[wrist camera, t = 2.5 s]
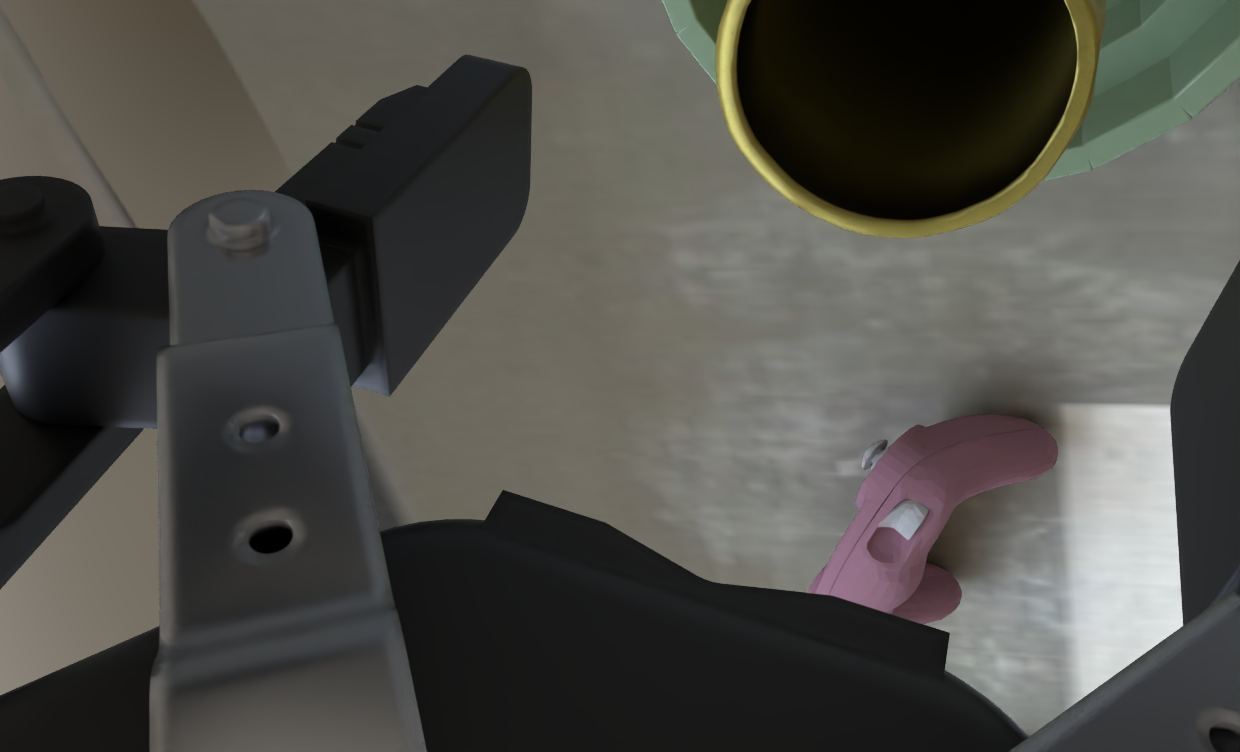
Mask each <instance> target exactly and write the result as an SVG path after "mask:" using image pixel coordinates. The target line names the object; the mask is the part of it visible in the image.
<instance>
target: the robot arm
mask: <svg viewBox="0 0 1240 752" xmlns="http://www.w3.org/2000/svg"><path fill="white" fill-rule="evenodd" d="M531 115H532V84H531V78H530V75H529V72H528V71H527V69H525V68H523V67H519V66H514V65H510V64H506V63H501V62H497V61H493V60H489V59H484V58H480V57H476V56H472V55H464V56H462V57H460V58H459V59H458V60H457V61H456V62H455V63H454V64H453V65H451V66H450V67H449V68H448V69H447V70H446V71H445V72H444V73H443V74H442V75H441V76H440V77H438V78H437V79H436V80H435V81H434V82H433V83H432V84H431V85H430V86H429V87H428V88H427V87H423V86H419V85H416V86H413V87H411V88H408V89H406V90H403V91H401V92H398V93H396V94H393V95H391V96H388V97H386V98H383V99H381V100H379V101H378V102H377V103H376V104H375V105H374V106H372V107H371V108H370V109H369V110H368V111H367V112H366V113H364V114H363V115H362V116H361V117H360V118H359V119H358V120H356V125H355V126H353V125H351V126H350V127H348V128H347V129H346V130H345V131H344V132H343V133H342V134H340V135H339V136H338V137H337V138H336V143H332V142H331V143H330V144H329V145H328V146H327V147H326V148H324V149H323V150H322V151H321V152H320V153H319V154H318V155H316V156H315V157H314V158H313V159H312V160H311V161H310V162H308V163H307V164H306V165H305V166H304V167H303V168H302V169H300V170H299V171H298V172H297V173H296V174H295V175H294V176H292V177H291V178H290V179H289V180H288V181H287V182H286V183H285V184H283V185H282V186H281V187H280V188H279V189H278V190H276V191H275V192H270V191H261V190H244V191H243V190H242V191H234V192H226V193H222V194H218V195H214V196H211V197H208V198H205V199H202V200H200V201H198V202H196V203H194V204H192V205H190V206H189V207H187V208H186V209H184V210H183V211H182V212H181V213H179V214H178V215H177V216H176V218H175V219H174V220H173V221H172V222H171V225H170V227H169V229H168V230H160V229H141V228H122V227H104V226H99V224H98V220H97V217H96V214H95V210H94V207H93V204H92V201H91V198H90V195H89V194H88V193H87V192H86V190H84V189H83V188H82V187H80V186H79V185H77V184H75V183H73V182H71V181H67V180H64V179H60V178H54V177H46V176H24V177H14V178H8V179H3V180H0V373H1V376H2V378H3V381H4V383H5V385H4V386H3V387H2V388H1V389H0V589H1V588H2V587H3V586H4V585H5V584H6V582H7V581H8V580H9V579H10V578H11V577H12V576H13V575H14V574H15V572H16V571H17V570H18V569H19V568H20V567H21V566H22V565H23V564H24V562H25V561H26V560H27V559H28V558H29V557H30V556H31V555H32V553H33V552H34V551H35V550H36V549H37V548H38V547H39V546H40V545H41V543H42V542H43V541H44V540H45V539H46V538H47V536H48V535H49V534H50V533H51V532H52V531H53V530H54V529H55V528H56V526H58V524H59V523H60V522H61V521H62V520H63V519H64V518H65V516H66V515H67V514H68V513H69V512H70V511H71V510H72V509H73V507H75V505H76V504H77V503H78V502H79V501H80V500H81V498H83V496H84V495H85V494H86V493H87V492H88V491H89V490H90V488H92V486H93V485H94V484H95V483H96V482H97V481H98V480H99V479H100V477H101V476H102V475H103V474H104V473H105V472H106V471H107V470H108V469H109V467H110V466H111V465H112V464H113V463H114V462H115V461H116V459H117V458H118V457H119V456H120V455H121V454H122V453H123V451H124V450H125V449H126V448H127V447H128V446H129V445H130V444H131V443H132V442H133V441H134V439H135V438H136V437H137V436H138V435H139V434H140V433H141V431H142V430H143V429H144V428H153V429H157V439H158V440H157V445H158V447H157V449H158V528H159V530H158V534H159V619H160V626H159V627H156V628H154V629H152V630H150V631H147V632H145V633H143V634H140V635H138V636H136V637H133V638H131V639H129V640H126V641H124V642H122V643H120V644H117V645H115V646H113V647H110V648H108V649H106V650H104V651H101V652H99V653H97V654H94V655H92V656H90V657H87V658H85V659H83V660H81V661H78V662H76V663H74V664H71V665H69V666H67V667H65V668H62V669H60V670H58V671H55V672H53V673H51V674H49V675H46V676H44V677H42V678H39V679H37V680H35V681H32V682H30V683H28V684H26V685H23V686H21V687H19V688H16V689H14V690H12V691H10V692H7V693H5V694H3V695H0V752H1240V261H1239V263H1238V264H1237V266H1236V268H1235V270H1234V271H1233V273H1232V275H1231V277H1230V278H1229V280H1228V282H1227V284H1226V285H1225V287H1224V289H1223V291H1222V292H1221V294H1220V296H1219V298H1218V300H1217V301H1216V303H1215V305H1214V307H1213V308H1212V310H1211V312H1210V314H1209V315H1208V317H1207V319H1206V321H1205V322H1204V324H1203V326H1202V328H1201V330H1200V331H1199V333H1198V335H1197V337H1196V338H1195V340H1194V342H1193V344H1192V345H1191V347H1190V349H1189V351H1188V352H1187V354H1186V356H1185V358H1184V360H1183V363H1182V365H1181V367H1180V370H1179V372H1178V375H1177V378H1176V381H1175V385H1174V389H1173V393H1172V399H1171V408H1170V414H1171V431H1172V447H1173V464H1174V480H1175V496H1176V513H1177V529H1178V546H1179V562H1180V579H1181V595H1182V612H1183V626H1182V627H1181V628H1180V629H1178V630H1177V631H1176V632H1174V633H1173V634H1171V635H1170V636H1169V637H1167V638H1166V639H1164V640H1163V641H1162V642H1160V643H1159V644H1157V645H1156V646H1155V647H1153V648H1152V649H1151V650H1149V651H1148V652H1146V653H1145V654H1144V655H1142V656H1141V657H1139V658H1138V659H1137V660H1135V661H1134V662H1133V663H1131V664H1130V665H1128V666H1127V667H1126V668H1124V669H1123V670H1121V671H1120V672H1119V673H1117V674H1116V675H1114V676H1113V677H1112V678H1110V679H1109V680H1108V681H1106V682H1105V683H1103V684H1102V685H1101V686H1099V687H1098V688H1096V689H1095V690H1094V691H1092V692H1091V693H1089V694H1088V695H1087V696H1085V697H1084V698H1083V699H1081V700H1080V701H1078V702H1077V703H1076V704H1074V705H1073V706H1071V707H1070V708H1069V709H1067V710H1066V711H1065V712H1063V713H1062V714H1060V715H1059V716H1058V717H1056V718H1055V719H1053V720H1052V721H1051V722H1049V723H1048V724H1046V725H1045V726H1044V727H1042V728H1041V729H1040V730H1038V731H1037V732H1035V733H1034V734H1033V735H1031V736H1030V737H1028V736H1027V735H1026V734H1025V732H1024V731H1023V730H1022V729H1021V728H1020V727H1019V726H1018V725H1017V724H1016V723H1015V722H1014V721H1013V720H1012V719H1011V718H1010V717H1009V716H1007V715H1006V714H1005V713H1004V712H1003V711H1002V710H1001V709H999V708H998V707H997V706H996V705H995V704H994V703H992V702H991V701H990V700H989V699H988V698H986V697H985V696H984V695H982V694H981V693H979V692H978V691H976V690H975V689H974V688H972V687H971V686H969V685H968V684H967V683H965V682H964V681H962V680H961V679H959V678H957V677H956V676H954V675H952V674H951V673H949V672H947V671H946V670H945V663H946V656H947V649H948V642H949V634H950V633H948V632H945V631H942V630H939V629H936V628H932V627H929V626H926V625H923V624H920V623H917V622H914V621H911V620H907V619H904V618H901V617H898V616H895V615H892V614H889V613H886V612H882V611H879V610H876V609H873V608H870V607H867V606H864V605H861V604H857V603H854V602H851V601H848V600H845V599H842V598H839V597H836V596H832V595H823V594H814V593H804V592H795V591H785V590H776V589H767V588H757V587H748V586H739V585H729V584H720V583H715V582H711V581H708V580H705V579H703V578H700V577H698V576H696V575H695V574H693V573H691V572H690V571H688V570H686V569H684V568H683V567H681V566H679V565H677V564H676V563H674V562H672V561H671V560H669V559H667V558H665V557H664V556H662V555H660V554H659V553H657V552H655V551H653V550H652V549H650V548H648V547H646V546H645V545H643V544H641V543H640V542H638V541H636V540H634V539H633V538H631V537H629V536H627V535H626V534H624V533H622V532H621V531H619V530H617V529H615V528H614V527H612V526H610V525H609V524H607V523H605V522H602V521H598V520H595V519H592V518H589V517H586V516H583V515H580V514H577V513H573V512H570V511H567V510H564V509H561V508H558V507H555V506H552V505H548V504H545V503H542V502H539V501H536V500H533V499H530V498H527V497H523V496H520V495H517V494H514V493H511V492H508V491H505V490H503V491H502V492H501V494H500V496H499V497H498V499H497V501H496V502H495V504H494V506H493V507H492V509H491V511H490V513H489V514H488V516H487V518H486V519H485V520H473V519H445V520H436V521H426V522H418V523H413V524H408V525H404V526H399V527H394V528H390V529H387V530H384V531H381V532H380V530H379V525H378V520H377V515H376V510H375V505H374V500H373V495H372V491H371V486H370V481H369V476H368V471H367V466H366V461H365V456H364V451H363V446H362V441H361V436H360V431H359V426H358V421H357V416H356V411H355V406H354V401H353V396H352V391H351V386H352V385H354V386H357V387H360V388H363V389H367V390H370V391H373V392H376V393H380V394H383V395H386V396H389V397H390V395H391V394H392V393H393V391H394V390H395V389H396V388H397V386H398V385H399V384H400V382H401V381H402V380H403V378H404V377H405V376H406V375H407V373H408V372H409V371H410V369H411V368H412V367H413V366H414V364H415V363H416V362H417V360H418V359H419V358H420V356H421V355H422V354H423V353H424V351H425V350H426V349H427V347H428V346H429V345H430V343H431V342H432V341H433V340H434V338H435V337H436V336H437V334H438V333H439V332H440V331H441V329H442V328H443V327H444V325H445V324H446V323H447V321H448V320H449V319H450V318H451V316H452V315H453V314H454V312H455V311H456V310H457V308H458V307H459V306H460V305H461V303H462V302H463V301H464V299H465V298H466V297H467V295H468V294H469V293H470V292H471V290H472V289H473V288H474V286H475V285H476V284H477V283H478V281H479V280H480V279H481V277H482V276H483V275H484V273H485V272H486V271H487V270H488V268H489V267H490V266H491V264H492V263H493V262H494V260H495V259H496V258H497V257H498V255H499V254H500V253H501V251H502V250H503V249H504V248H505V246H506V245H507V244H508V242H509V241H510V240H511V238H512V237H513V236H514V234H515V233H516V231H517V230H518V228H519V226H520V224H521V221H522V219H523V216H524V213H525V210H526V206H527V202H528V197H529V190H530V164H531Z"/></svg>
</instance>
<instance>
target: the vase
mask: <svg viewBox="0 0 1240 752" xmlns="http://www.w3.org/2000/svg"><path fill="white" fill-rule="evenodd" d="M1105 21H1106V0H727V3H726V6H725V9H724V12H723V15H722V18H721V21H720V24H719V27H718V34H717V41H716V50H715V71H716V81H717V90H718V95H719V100H720V105H721V109H722V112H723V115H724V119H725V122H726V125H727V127H728V130H729V132H730V135H731V137H732V138H733V140H734V141H735V143H736V145H737V146H738V148H739V149H740V151H741V152H742V153H743V155H744V156H745V157H746V159H747V160H748V161H749V163H750V164H751V165H752V166H753V167H754V169H755V170H756V171H757V172H758V173H759V175H760V176H761V177H762V178H763V179H764V180H765V181H766V182H767V183H768V184H769V185H770V186H771V187H772V188H774V189H775V190H776V191H777V192H778V193H780V194H781V195H782V196H783V197H784V198H786V199H787V200H789V201H790V202H792V203H793V204H795V205H796V206H798V207H799V208H801V209H803V210H805V211H806V212H808V213H810V214H812V215H814V216H816V217H818V218H820V219H822V220H824V221H826V222H828V223H831V224H833V225H835V226H838V227H840V228H843V229H846V230H849V231H852V232H856V233H860V234H866V235H872V236H881V237H892V238H915V237H925V236H931V235H935V234H940V233H944V232H948V231H952V230H956V229H960V228H964V227H967V226H970V225H973V224H977V223H980V222H983V221H985V220H987V219H990V218H992V217H994V216H997V215H999V214H1001V213H1002V212H1004V211H1005V210H1007V209H1008V208H1010V207H1011V206H1013V205H1014V204H1016V203H1017V202H1018V201H1020V200H1021V199H1022V198H1024V197H1025V196H1026V195H1027V194H1029V193H1030V192H1031V191H1033V190H1034V189H1035V188H1036V187H1037V186H1038V185H1039V184H1040V183H1041V182H1042V181H1043V180H1044V179H1045V178H1046V177H1047V176H1048V175H1049V173H1050V172H1051V170H1052V169H1053V167H1054V166H1055V164H1056V163H1057V162H1058V160H1059V159H1060V157H1061V156H1062V154H1063V153H1064V151H1065V150H1066V148H1067V147H1068V145H1069V144H1070V142H1071V141H1072V139H1073V138H1074V136H1075V134H1076V133H1077V131H1078V130H1079V128H1080V126H1081V125H1082V123H1083V122H1084V120H1085V118H1086V116H1087V114H1088V111H1089V109H1090V106H1091V104H1092V101H1093V97H1094V87H1095V80H1096V74H1097V68H1098V62H1099V55H1100V49H1101V43H1102V37H1103V32H1104V28H1105Z"/></svg>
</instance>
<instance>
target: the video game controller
mask: <svg viewBox="0 0 1240 752" xmlns="http://www.w3.org/2000/svg"><path fill="white" fill-rule="evenodd" d="M886 446H887V440H881V441H878V442H877V443H874V444H872V445H871V446H870V447H869V449H868V450H867V451H866V453H865V454H864V459H863V463H862V468H863V469H864V470H866V469H868V468H869V467H870V466H872V468H871V471H870V473H869V474H868V476H867V477H866V479H865V481H864V482H863V484H862V486H861V487H860V490H859V493H858V495H857V498H856V506H857V507H858V508H859V509H860V510H859V511H858V513H857V515H856V516H855V518H854V520H853V521H852V523H851V524H850V526H849V528H848V529H847V531H846V532H845V534H844V535H843V537H842V539H841V540H840V542H839V544H838V546H837V548H836V549H835V551H834V553H833V555H832V557H831V559H830V560H829V562H828V563H827V564H826V566H825V567H824V568H823V569H822V571H821V572H820V573H819V574H818V576H817V577H816V578H815V580H814V581H813V583H812V584H811V586H810V587H809V589H808V590H807V592H806V593H814V594H823V595H832V596H836V597H839V598H842V599H845V600H848V601H851V602H854V603H857V604H861V605H864V606H867V607H870V608H873V609H876V610H879V611H882V612H886V613H889V614H892V615H895V616H898V617H901V618H904V619H907V620H911V621H914V622H917V623H920V624H926V623H930V622H934V621H937V620H941V619H943V618H944V617H946V616H947V615H949V614H950V613H952V612H953V611H954V610H955V609H956V608H957V607H958V605H959V604H960V600H961V597H962V591H961V588H960V586H959V583H958V582H957V580H956V579H955V578H954V576H953V575H952V574H950V573H949V572H947V571H946V570H944V569H942V568H940V567H938V566H936V565H933V564H929V563H926V560H927V555H928V552H929V550H930V549H931V547H932V546H933V544H934V543H935V541H936V540H937V538H938V536H939V535H940V533H941V532H942V530H943V528H944V526H945V524H946V523H947V521H948V519H949V517H950V515H951V514H952V512H953V510H954V508H955V507H956V506H957V505H959V504H960V503H961V502H962V501H963V500H964V499H967V498H969V497H971V496H973V495H976V494H978V493H980V492H983V491H986V490H990V489H993V488H996V487H1000V486H1004V485H1009V484H1014V483H1018V482H1023V481H1027V480H1032V479H1035V478H1037V477H1039V476H1040V475H1042V474H1043V473H1045V472H1047V471H1048V470H1050V469H1052V467H1053V466H1054V465H1055V463H1056V460H1057V457H1058V446H1057V443H1056V441H1055V440H1054V438H1053V437H1052V436H1051V434H1050V433H1049V432H1048V431H1047V430H1046V429H1045V428H1043V427H1041V426H1039V425H1037V424H1035V423H1033V422H1030V421H1028V420H1025V419H1021V418H1018V417H1012V416H1005V415H990V414H982V415H971V416H965V417H960V418H956V419H951V420H947V421H943V422H941V423H938V424H935V425H932V426H929V427H924V426H922V425H916V426H914V427H912V428H911V429H909V430H908V431H907V432H905V433H904V434H903V435H902V436H901V437H899V438H898V439H897V440H896V441H895V442H894V443H893V444H892V445H891V446H890V447H889V448H887V449H885V448H886Z"/></svg>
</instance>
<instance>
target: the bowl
mask: <svg viewBox="0 0 1240 752" xmlns="http://www.w3.org/2000/svg"><path fill="white" fill-rule="evenodd" d="M662 2H663V5H664V7H665V9H666V12H667V14H668V17H669V19H670V22H671V24H672V26H673V29H674V31H675V32H677V33H676V35H677V36H678V38H679V39H680V40H681V41H682V43H683V44H684V45H685V46H686V48H687V49H688V50H689V51H690V53H691V54H692V55H693V56H694V58H695V59H696V60H697V61H698V62H699V64H700V65H701V66H702V67H703V69H704V70H705V71H706V72H707V74H708V75H709V76H710V77H711V79H712V80H713V81H714V82H715V84H716V85H717V81H716V71H715V50H716V41H717V34H718V27H719V24H720V21H721V18H722V15H723V12H724V9H725V6H726V3H727V0H662ZM1239 78H1240V0H1106V21H1105V28H1104V32H1103V37H1102V43H1101V49H1100V55H1099V62H1098V68H1097V74H1096V80H1095V87H1094V97H1093V101H1092V104H1091V106H1090V109H1089V111H1088V114H1087V116H1086V118H1085V120H1084V122H1083V123H1082V125H1081V126H1080V128H1079V130H1078V131H1077V133H1076V134H1075V136H1074V138H1073V139H1072V141H1071V142H1070V144H1069V145H1068V147H1067V148H1066V150H1065V151H1064V153H1063V154H1062V156H1061V157H1060V159H1059V160H1058V162H1057V163H1056V164H1055V166H1054V167H1053V169H1052V170H1051V172H1050V173H1049V175H1048V176H1047V177H1046V178H1045V179H1044V180H1043V181H1045V180H1049V179H1054V178H1059V177H1063V176H1068V175H1073V174H1077V173H1082V172H1087V171H1091V170H1092V168H1097V167H1099V166H1101V165H1103V164H1105V163H1107V162H1109V161H1111V160H1113V159H1115V158H1117V157H1119V156H1121V155H1123V154H1125V153H1127V152H1129V151H1131V150H1133V149H1134V148H1136V147H1138V146H1140V145H1142V144H1144V143H1146V142H1148V141H1150V140H1152V139H1154V138H1156V137H1158V136H1160V135H1162V134H1164V133H1166V132H1168V131H1170V130H1172V129H1174V128H1176V127H1178V126H1180V125H1182V124H1184V123H1186V122H1188V121H1190V120H1191V119H1192V116H1193V117H1195V116H1197V115H1198V114H1199V113H1200V112H1201V111H1203V110H1204V109H1205V108H1206V107H1207V106H1208V105H1209V104H1210V103H1212V102H1213V101H1214V100H1215V99H1216V98H1217V97H1218V96H1219V95H1221V94H1222V93H1223V92H1224V91H1225V90H1226V89H1227V88H1228V87H1230V86H1231V85H1232V84H1233V83H1234V82H1235V81H1236V80H1237V79H1239Z"/></svg>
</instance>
